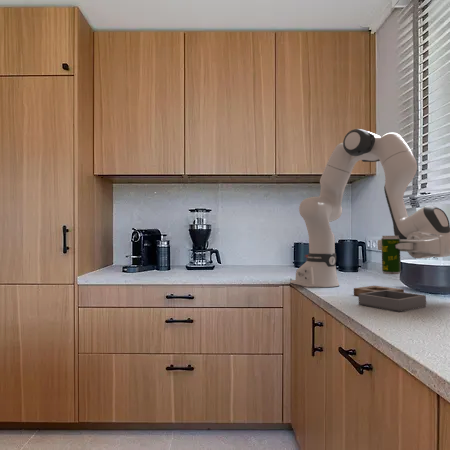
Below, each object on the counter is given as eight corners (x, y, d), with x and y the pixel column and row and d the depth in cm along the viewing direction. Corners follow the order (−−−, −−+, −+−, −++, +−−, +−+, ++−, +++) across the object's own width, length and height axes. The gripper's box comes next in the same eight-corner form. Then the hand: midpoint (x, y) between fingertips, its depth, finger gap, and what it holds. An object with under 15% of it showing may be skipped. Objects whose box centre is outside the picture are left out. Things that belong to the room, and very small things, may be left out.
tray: (358, 304, 120) (358, 293, 120) (385, 300, 127) (385, 289, 128) (399, 312, 108) (398, 300, 108) (425, 306, 116) (425, 295, 116)
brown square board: (353, 295, 138) (353, 288, 139) (374, 292, 145) (374, 285, 145) (383, 299, 128) (382, 292, 128) (403, 296, 135) (403, 289, 135)
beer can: (394, 272, 121) (393, 235, 121) (404, 274, 116) (403, 235, 116) (378, 272, 120) (378, 235, 121) (388, 274, 115) (387, 235, 115)
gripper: (394, 235, 133) (364, 236, 128) (448, 235, 114) (415, 236, 109) (395, 253, 133) (364, 254, 128) (448, 256, 114) (415, 257, 109)
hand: (388, 246), depth 118 cm, fingers closed on beer can, 5 cm apart
